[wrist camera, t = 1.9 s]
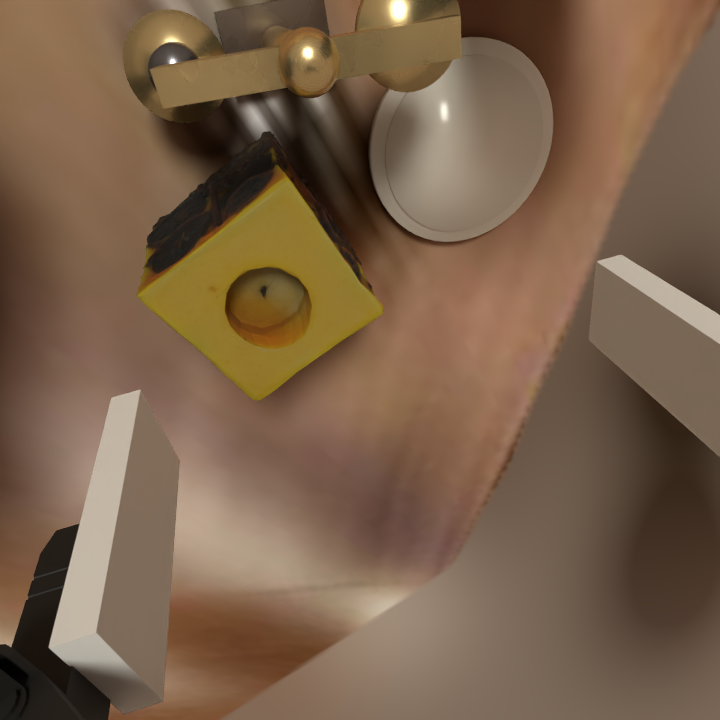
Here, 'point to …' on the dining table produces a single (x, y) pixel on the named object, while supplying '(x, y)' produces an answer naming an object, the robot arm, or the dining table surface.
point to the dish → (463, 143)
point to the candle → (256, 272)
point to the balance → (285, 52)
